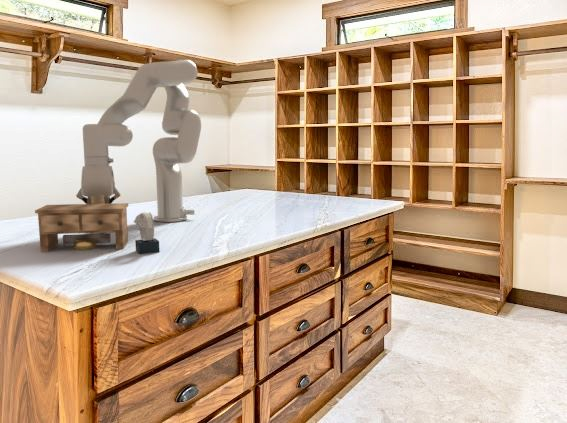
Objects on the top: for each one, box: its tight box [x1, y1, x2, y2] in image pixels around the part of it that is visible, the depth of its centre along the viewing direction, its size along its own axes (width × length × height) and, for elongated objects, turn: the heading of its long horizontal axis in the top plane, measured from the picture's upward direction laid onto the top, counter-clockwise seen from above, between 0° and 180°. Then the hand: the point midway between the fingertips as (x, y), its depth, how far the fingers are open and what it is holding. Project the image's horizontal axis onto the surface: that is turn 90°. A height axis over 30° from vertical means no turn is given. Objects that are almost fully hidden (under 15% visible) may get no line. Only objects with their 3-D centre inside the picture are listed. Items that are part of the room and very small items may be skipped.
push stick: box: [62, 196, 111, 245], centre depth 150 cm, size 13×23×16 cm, turn 10°
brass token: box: [72, 238, 97, 252], centre depth 137 cm, size 6×6×2 cm
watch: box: [133, 212, 160, 255], centre depth 133 cm, size 6×8×11 cm
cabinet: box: [34, 202, 129, 253], centre depth 138 cm, size 23×12×12 cm, turn 101°
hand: (99, 216), depth 159 cm, fingers closed on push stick, 4 cm apart
